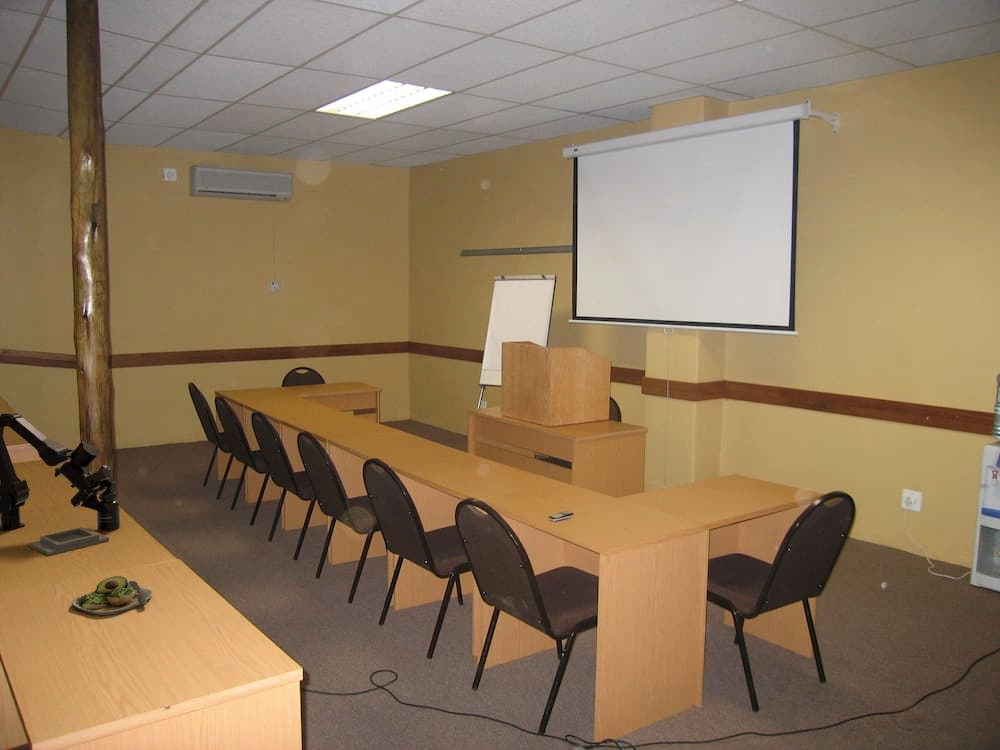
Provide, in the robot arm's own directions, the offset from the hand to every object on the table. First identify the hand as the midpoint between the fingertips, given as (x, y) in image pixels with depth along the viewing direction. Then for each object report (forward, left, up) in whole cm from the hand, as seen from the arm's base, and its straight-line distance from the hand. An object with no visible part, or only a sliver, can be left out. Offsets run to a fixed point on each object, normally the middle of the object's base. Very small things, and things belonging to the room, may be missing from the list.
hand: (112, 509), depth 259 cm
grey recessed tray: (+5, -16, -7) cm, 18 cm away
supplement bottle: (-1, -1, -7) cm, 7 cm away
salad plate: (+61, -29, -7) cm, 68 cm away
